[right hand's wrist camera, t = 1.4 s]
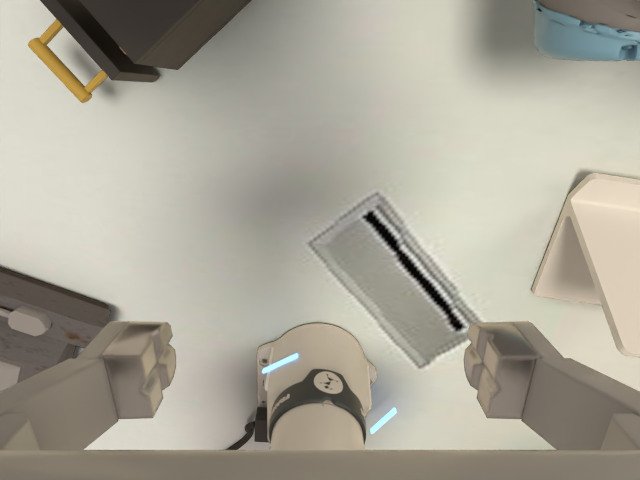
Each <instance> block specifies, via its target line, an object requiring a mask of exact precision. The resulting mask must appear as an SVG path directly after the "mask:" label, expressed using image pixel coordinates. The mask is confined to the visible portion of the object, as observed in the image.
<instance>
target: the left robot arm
mask: <svg viewBox="0 0 640 480" xmlns="http://www.w3.org/2000/svg"><path fill="white" fill-rule="evenodd" d="M533 6H534V9H535V20H534V43H535V45H536V48H537V50H538V51H539V52H540V53H541V54H542V55H544V56H546V57H550V58H554V59H564V60H580V61H621V60H627V61H640V0H533Z"/></svg>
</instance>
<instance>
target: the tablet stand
mask: <svg viewBox="0 0 640 480" xmlns="http://www.w3.org/2000/svg"><path fill="white" fill-rule="evenodd" d="M532 292H533V293H534V294H535V295H537V296H540V297H547V298H554V299H562V300H569V301H577V302H584V303H591V304H599V305H602V308H603V310H604V313H605V316H606V319H607V322H608V325H609V327H610V330H611V333H612V336H613V339H614V342H615V344H616V347H617V349H618V351H619V352H620V353H621V354H623V355H625V356H631V357H639V358H640V180H638V179H632V178H625V177H619V176H612V175H606V174H600V173H592V174H589V175H587V176H586V177H585V178H584V179H583V180H582V181H581V182H580V183H579V184H578V185H577V186H576V187H575V188H574V189H573V190H572V192H571V193H570V194H569V195H568V197H567V199H566V202H565V204H564V207H563V210H562V212H561V215H560V217H559V220H558V222H557V225H556V228H555V230H554V233H553V235H552V238H551V241H550V243H549V246H548V248H547V251H546V253H545V256H544V259H543V261H542V264H541V266H540V269H539V271H538V274H537V277H536V279H535V282H534V284H533V287H532Z"/></svg>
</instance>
